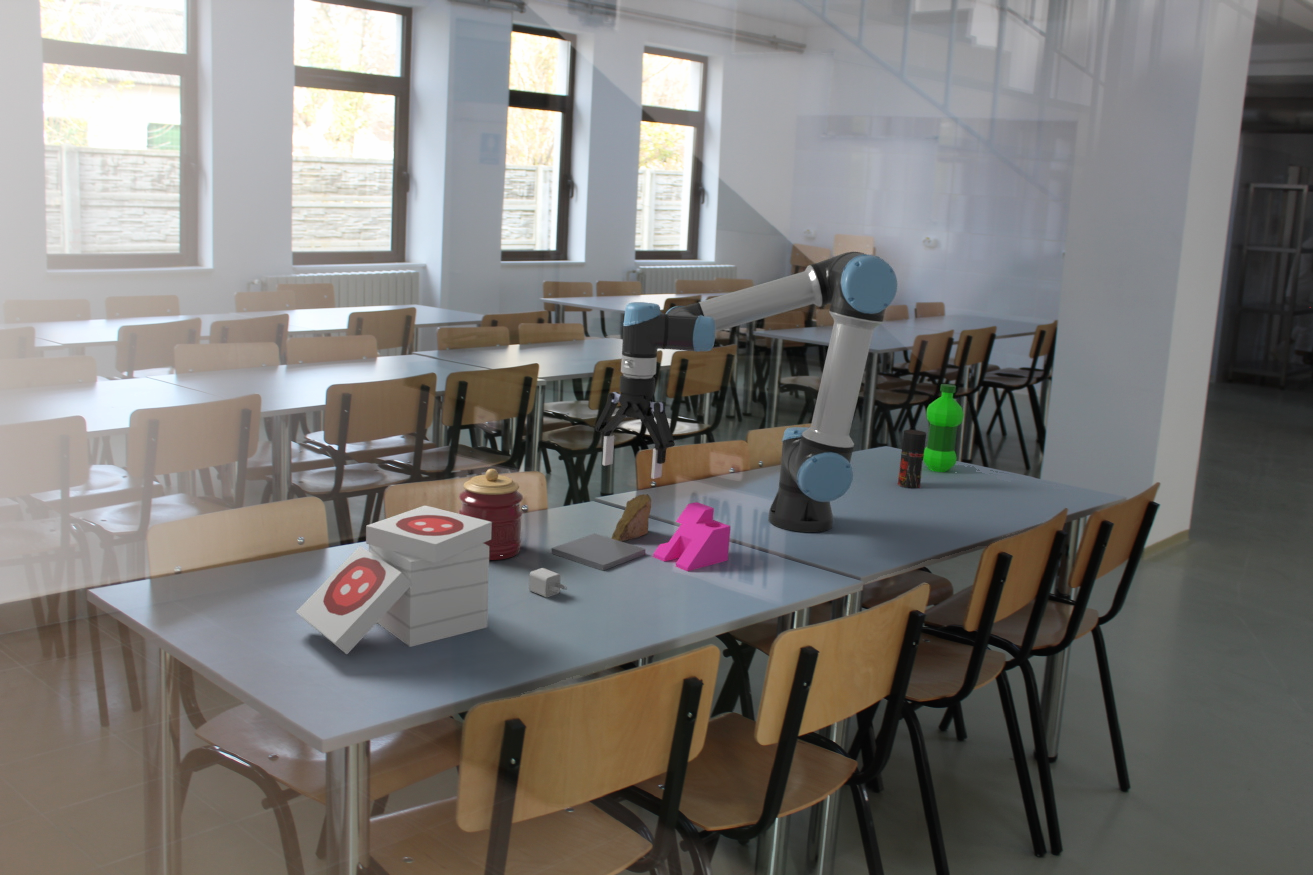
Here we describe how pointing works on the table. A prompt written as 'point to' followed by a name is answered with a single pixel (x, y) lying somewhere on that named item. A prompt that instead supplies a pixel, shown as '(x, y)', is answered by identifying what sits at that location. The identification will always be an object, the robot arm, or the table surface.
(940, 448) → the plastic bottle
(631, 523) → the rock
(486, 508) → the canister
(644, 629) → the table surface
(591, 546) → the slate board
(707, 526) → the bracket
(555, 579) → the usb wall charger
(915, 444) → the deodorant
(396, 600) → the pizza boxes
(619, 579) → the table surface
